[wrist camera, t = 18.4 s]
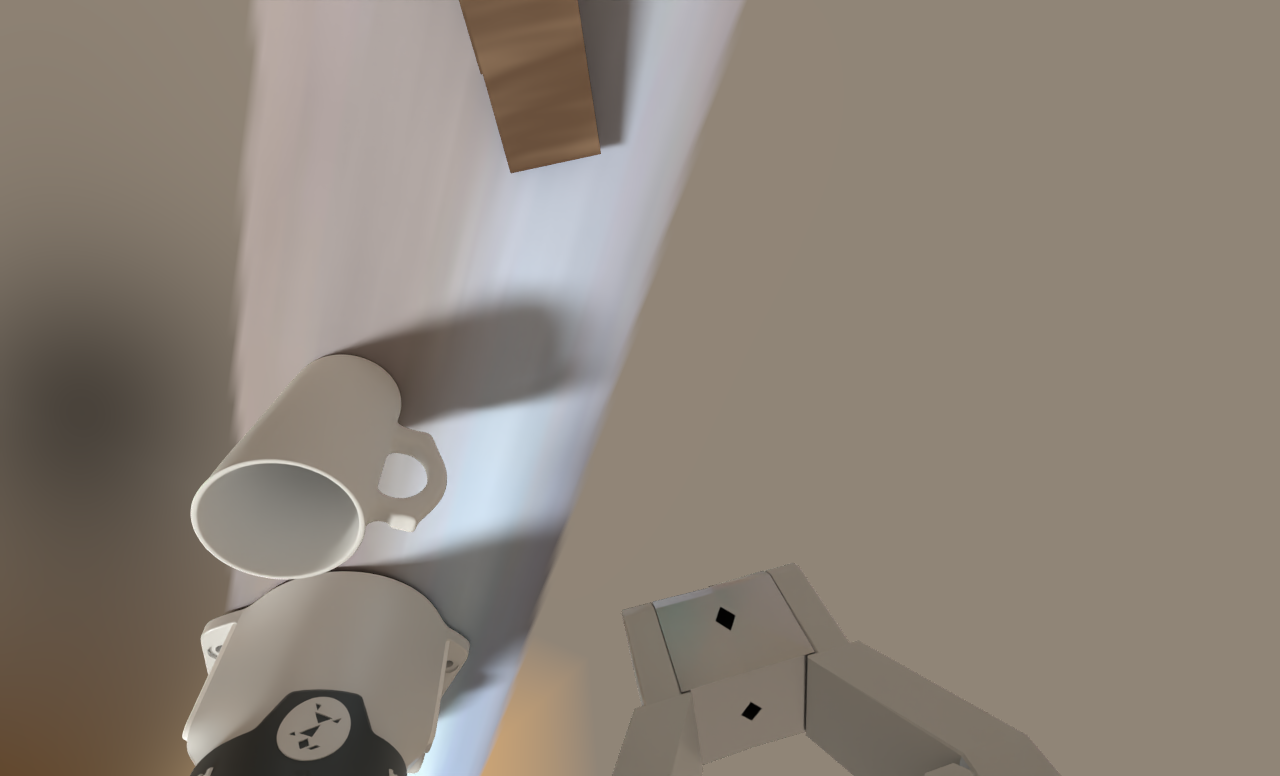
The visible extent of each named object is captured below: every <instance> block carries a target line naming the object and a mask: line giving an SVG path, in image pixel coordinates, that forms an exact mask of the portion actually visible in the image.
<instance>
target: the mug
mask: <svg viewBox="0 0 1280 776" xmlns="http://www.w3.org/2000/svg"><path fill="white" fill-rule="evenodd" d="M400 411H401V396H400V392H399V389H398V386H397V384H396V383H395V381H394V380H393V378H392V377H391V376H390V375H389V374H388V373H387V372H386V371H385V370H384V369H383V368H382V367H380V366H379V365H377V364H375V363H374V362H372V361H370V360H367V359H365V358H362V357H358V356H353V355H343V354H340V355H330V356H326V357H322V358H320V359H317V360H315V361H313V362H311V363H310V364H308V365H307V366H306V367H305V368H304V369H302V370H301V372H300V373H299V374H298V375H297V376H296V377H295V378H294V379H293V380H292V381H291V382H290V383H289V384H288V386H287V387H286V388H285V389H284V390H283V391H282V393H281V394H280V395H279V396H278V397H277V399H276V400H275V401H274V402H273V403H272V405H271V406H270V407H269V408H268V409H267V410H266V412H265V413H264V414H263V415H262V416H261V417H260V418H259V420H258V421H257V422H256V423H255V424H254V425H253V427H252V428H251V429H250V430H249V431H248V432H247V433H246V435H245V436H244V437H243V438H242V439H241V440H240V442H239V443H238V444H237V445H236V446H235V447H234V448H233V450H232V451H231V452H230V453H229V454H228V455H227V457H226V458H225V459H224V460H223V461H222V462H221V464H220V465H219V466H218V467H217V468H216V470H215V471H214V472H213V473H212V475H211V476H210V478H209V479H208V480H207V481H205V482H204V484H203V485H202V486H201V487H200V488H199V490H198V492H197V493H196V495H195V497H194V499H193V502H192V506H191V521H192V525H193V528H194V531H195V533H196V535H197V536H198V538H199V539H200V541H201V543H202V544H203V545H204V546H205V548H206V549H207V550H208V551H209V552H210V553H212V554H213V555H214V556H215V557H216V558H218V559H219V560H221V561H222V562H224V563H225V564H227V565H229V566H231V567H233V568H235V569H237V570H240V571H242V572H245V573H248V574H251V575H255V576H259V577H264V578H271V579H300V578H307V577H312V576H316V575H319V574H322V573H325V572H328V571H330V570H332V569H334V568H336V567H338V566H339V565H341V564H342V563H344V562H345V561H347V560H348V559H349V558H350V557H351V556H352V555H353V554H354V553H355V552H356V550H357V549H358V547H359V546H360V544H361V542H362V540H363V537H364V534H365V528H366V526H367V524H368V523H371V522H373V521H383V522H386V523H388V524H389V526H390V527H391V528H394V529H399V530H404V531H407V532H413V531H414V530H415V529H416V527H417V525H418V523H419V522H420V521H421V520H422V519H423V518H424V517H425V516H426V515H428V514H429V513H430V512H431V511H432V510H433V509H434V508H435V506H436V505H437V504H438V503H439V501H440V500H441V498H442V497H443V495H444V492H445V489H446V485H447V473H446V468H445V465H444V462H443V460H442V458H441V455H440V453H439V451H438V449H437V447H436V444H435V442H434V440H433V438H432V436H431V435H430V434H428V433H425V432H420V431H415V430H412V429H408V428H406V427H403V426H401V425H400V424H399V423H398V418H399V415H400ZM391 453H401V454H406V455H409V456H412V457H414V458H415V459H417V460H418V461H419V462H420V463H421V464H422V465H423V466H424V468H425V470H426V473H427V485H426V487H425V488H424V489H423V490H422V491H421V492H420V493H418V494H416V495H414V496H412V497H408V498H394V497H390V496H387V495H385V494H383V493H381V492H380V491H379V489H378V484H379V480H380V477H381V474H382V470H383V467H384V464H385V460H386V458H387V456H388V455H389V454H391Z"/></svg>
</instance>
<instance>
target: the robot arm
mask: <svg viewBox="0 0 1280 776" xmlns="http://www.w3.org/2000/svg"><path fill="white" fill-rule="evenodd" d="M622 616H623V621H624V626H625V631H626V636H627V640H628V645H629V650H630V655H631V659H632V664H633V669H634V674H635V678H636V683H637V688H638V692H639V696H640V700H641V704H642V706H641V707H638V708H635V709H634V712H633V715H632V718H631V721H630V724H629V727H628V730H627V732H626V735H625V739H624V741H623V744H622V747H621V750H620V753H619V756H618V759H617V762H616V765H615V768H614V771H613V774H612V776H702V772H703V766H702V765H705V764H708V763H710V762H713V761H716V760H718V759H722V758H724V757H727V756H730V755H733V754H736V753H738V752H741V751H744V750H747V749H749V748H752V747H756V746H759V745H762V744H766V743H769V742H773V741H776V740H779V739H783V738H786V737H790V736H793V735H797V734H800V733H804V732H806V736H808V737H809V738H810V739H811V740H812V741H813V742H815V743H816V744H817V745H818V746H819V747H821V748H822V749H823V750H824V751H825V752H826V753H828V754H829V755H830V756H831V757H832V758H834V759H835V760H836V761H837V762H838V763H839V764H841V765H842V766H843V767H844V768H845V769H847V770H848V771H849V772H850V773H851V774H852V775H854V776H1061V775H1060V773H1059V772H1058V771H1057V770H1056V769H1055V767H1054V766H1053V765H1052V764H1051V763H1050V762H1049V760H1048V759H1047V758H1046V757H1045V756H1044V755H1043V753H1042V752H1041V751H1040V750H1039V749H1038V747H1037V746H1036V745H1035V744H1034V743H1033V741H1032V740H1031V739H1030V738H1029V737H1028V736H1027V735H1026V734H1024V733H1023V732H1021V731H1019V730H1017V729H1015V728H1014V727H1012V726H1010V725H1008V724H1007V723H1005V722H1003V721H1001V720H1000V719H998V718H996V717H994V716H992V715H991V714H989V713H987V712H985V711H984V710H982V709H980V708H978V707H976V706H975V705H973V704H971V703H969V702H967V701H966V700H964V699H962V698H960V697H959V696H957V695H955V694H953V693H952V692H950V691H948V690H946V689H944V688H943V687H941V686H939V685H937V684H935V683H934V682H932V681H930V680H928V679H927V678H924V677H923V676H921V675H919V674H918V673H916V672H914V671H912V670H911V669H909V668H907V667H905V666H904V665H902V664H900V663H898V662H896V661H895V660H893V659H891V658H889V657H888V656H886V655H884V654H882V653H881V652H879V651H877V650H875V649H873V648H872V647H870V646H868V645H866V644H864V643H863V642H861V641H855V642H851V643H850V642H849V640H848V639H847V637H846V636H845V634H844V633H843V631H842V630H841V628H840V627H839V625H838V624H837V622H836V621H835V619H834V618H833V616H832V615H831V613H830V612H829V610H828V609H827V607H826V606H825V604H824V603H823V601H822V600H821V598H820V597H819V595H818V594H817V592H816V591H815V589H814V588H813V586H812V585H811V583H810V582H809V580H808V579H807V577H806V576H805V574H804V573H803V571H802V570H801V568H800V567H799V566H798V565H796V564H795V563H791V564H787V565H784V566H780V567H777V568H773V569H769V570H766V571H760V572H757V573H753V574H750V575H747V576H744V577H740V578H737V579H733V580H730V581H726V582H723V583H720V584H716V585H713V586H709V588H706V589H702V590H698V591H694V592H690V593H686V594H682V595H678V596H674V597H670V598H666V599H662V600H658V601H654V602H652V603H647V604H643V605H639V606H635V607H632V608H628V609H624V610H622ZM201 645H202V649H203V654H204V658H205V662H206V666H207V671H208V677H207V679H206V682H205V684H204V686H203V688H202V690H201V693H200V695H199V697H198V699H197V701H196V703H195V705H194V708H193V710H192V712H191V714H190V716H189V719H188V721H187V723H186V725H185V728H184V731H183V736H182V737H183V739H184V740H186V741H187V750H188V754H189V756H190V758H191V759H192V761H193V762H194V764H195V766H196V767H195V768H194V770H193V772H192V773H191V775H190V776H407V773H417V772H418V771H419V770H420V768H421V765H422V763H423V760H424V756H425V753H428V752H429V750H430V748H431V745H432V742H433V740H434V737H435V733H436V728H437V721H438V715H439V708H440V702H441V698H442V696H443V695H444V693H445V692H446V690H447V688H448V687H449V685H450V684H451V682H452V681H453V679H454V678H455V676H456V675H457V673H458V672H459V670H460V669H461V667H462V666H463V664H464V663H465V661H466V660H467V658H468V653H469V648H470V643H469V642H468V640H467V639H466V638H465V637H463V636H462V635H460V634H459V633H457V632H456V631H454V630H452V629H451V628H449V627H448V626H447V625H446V624H445V623H444V621H443V620H442V618H441V617H440V615H439V613H438V611H437V610H436V608H435V607H434V606H433V605H432V603H431V602H430V601H429V600H428V599H427V598H426V597H424V596H423V595H422V594H421V593H419V592H418V591H416V590H415V589H413V588H412V587H410V586H408V585H406V584H404V583H402V582H399V581H397V580H394V579H391V578H388V577H385V576H380V575H376V574H371V573H364V572H351V571H338V572H326V573H322V574H319V575H316V576H312V577H307V578H300V579H295V580H292V581H289V582H287V583H285V584H282V585H280V586H278V587H277V588H275V589H273V590H271V591H270V592H268V593H267V594H265V595H264V596H263V597H261V598H260V599H259V600H257V601H256V602H255V603H253V604H252V605H250V606H249V607H247V608H245V609H242V610H239V611H235V612H232V613H229V614H226V615H223V616H220V617H218V618H215V619H213V620H211V621H210V622H208V623H207V625H206V627H205V629H204V631H203V633H202V636H201Z"/></svg>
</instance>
